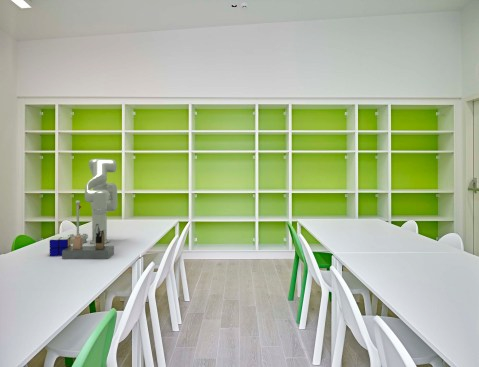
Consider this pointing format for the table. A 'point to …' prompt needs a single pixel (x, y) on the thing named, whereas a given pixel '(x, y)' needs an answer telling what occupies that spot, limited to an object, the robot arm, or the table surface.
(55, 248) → the puzzle cube
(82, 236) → the flag stand
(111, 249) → the block
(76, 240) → the terracotta plug
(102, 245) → the walnut plug
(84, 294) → the table surface
